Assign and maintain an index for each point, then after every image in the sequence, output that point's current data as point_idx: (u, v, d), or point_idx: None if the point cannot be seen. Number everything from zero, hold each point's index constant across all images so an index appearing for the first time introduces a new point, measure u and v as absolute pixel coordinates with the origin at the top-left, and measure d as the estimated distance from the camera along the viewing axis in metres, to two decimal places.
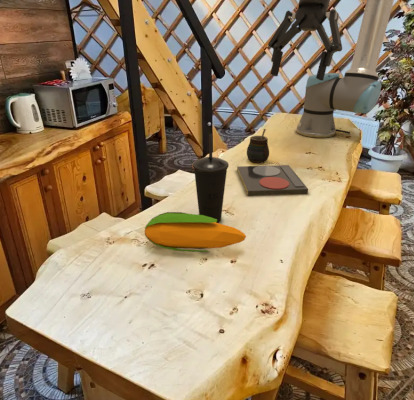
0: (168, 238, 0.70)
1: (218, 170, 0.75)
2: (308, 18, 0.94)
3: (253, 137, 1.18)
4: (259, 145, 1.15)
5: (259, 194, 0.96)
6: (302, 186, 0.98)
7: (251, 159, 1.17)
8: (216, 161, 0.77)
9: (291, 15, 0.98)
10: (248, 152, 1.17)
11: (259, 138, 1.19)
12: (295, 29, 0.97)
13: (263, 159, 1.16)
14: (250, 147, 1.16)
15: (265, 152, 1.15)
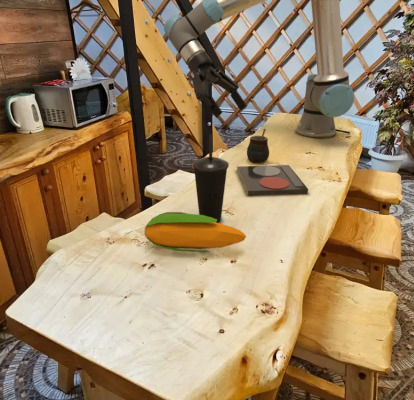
0: (168, 237, 0.70)
1: (218, 170, 0.75)
2: None
3: (253, 137, 1.18)
4: (259, 145, 1.15)
5: (259, 194, 0.96)
6: (302, 186, 0.98)
7: (251, 159, 1.17)
8: (216, 161, 0.77)
9: None
10: (248, 152, 1.17)
11: (259, 138, 1.19)
12: (216, 82, 1.23)
13: (263, 159, 1.16)
14: (250, 147, 1.16)
15: (265, 152, 1.15)
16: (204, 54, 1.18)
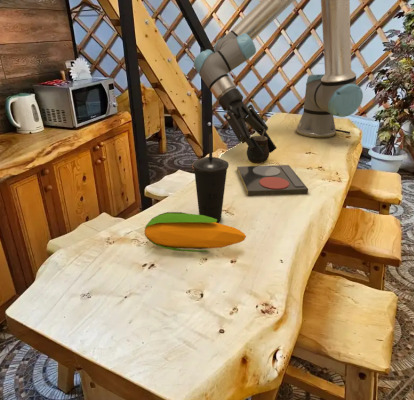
0: (168, 238, 0.70)
1: (218, 170, 0.75)
2: None
3: (253, 137, 1.18)
4: (259, 145, 1.15)
5: (259, 194, 0.96)
6: (302, 186, 0.98)
7: (251, 159, 1.17)
8: (216, 161, 0.77)
9: None
10: (248, 152, 1.17)
11: (259, 138, 1.19)
12: (246, 120, 1.19)
13: (263, 159, 1.16)
14: None
15: (265, 152, 1.15)
16: (236, 90, 1.15)
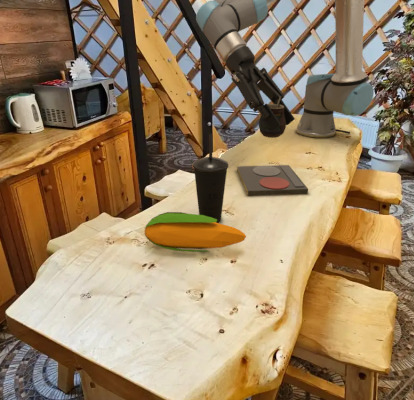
0: (168, 237, 0.70)
1: (218, 170, 0.75)
2: None
3: None
4: None
5: (259, 194, 0.96)
6: (302, 186, 0.98)
7: (264, 132, 0.97)
8: (216, 161, 0.77)
9: None
10: (261, 124, 0.97)
11: (274, 107, 0.99)
12: (258, 85, 1.00)
13: (279, 131, 0.97)
14: None
15: (281, 123, 0.96)
16: (246, 48, 0.96)
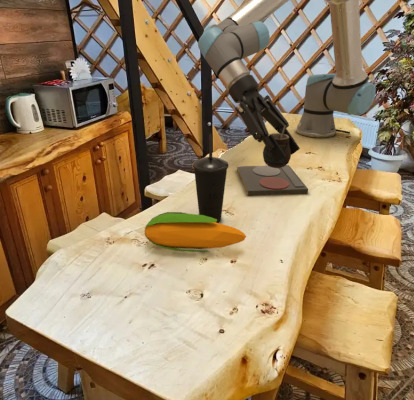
0: (168, 237, 0.70)
1: (218, 170, 0.75)
2: None
3: None
4: (279, 145, 0.92)
5: (259, 194, 0.96)
6: (302, 186, 0.98)
7: (269, 162, 0.95)
8: (216, 161, 0.77)
9: None
10: (265, 154, 0.95)
11: (278, 136, 0.96)
12: (262, 114, 0.97)
13: (284, 162, 0.94)
14: None
15: (286, 154, 0.93)
16: (250, 77, 0.93)
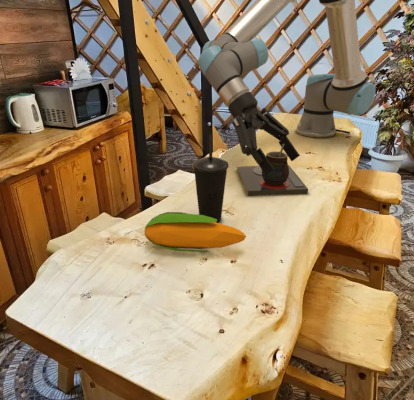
0: (168, 237, 0.70)
1: (218, 170, 0.75)
2: None
3: (270, 153, 0.98)
4: (277, 164, 0.95)
5: (259, 194, 0.96)
6: (302, 186, 0.98)
7: (267, 180, 0.97)
8: (216, 161, 0.77)
9: None
10: None
11: (277, 154, 0.99)
12: (262, 127, 1.00)
13: (282, 180, 0.96)
14: None
15: (285, 172, 0.95)
16: (249, 95, 0.95)
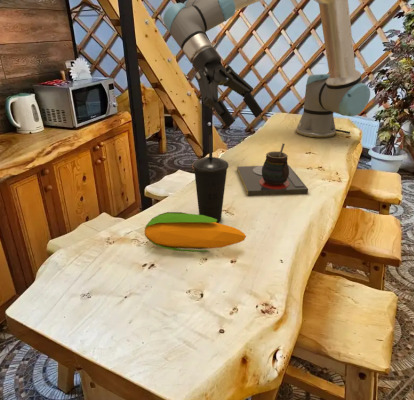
0: (168, 237, 0.70)
1: (218, 170, 0.75)
2: None
3: (270, 153, 0.98)
4: (277, 164, 0.95)
5: (259, 194, 0.96)
6: (302, 186, 0.98)
7: (267, 180, 0.97)
8: (216, 161, 0.77)
9: None
10: (264, 172, 0.97)
11: (277, 154, 0.99)
12: (226, 84, 1.02)
13: (282, 180, 0.96)
14: (266, 166, 0.96)
15: (285, 172, 0.95)
16: (212, 50, 0.98)
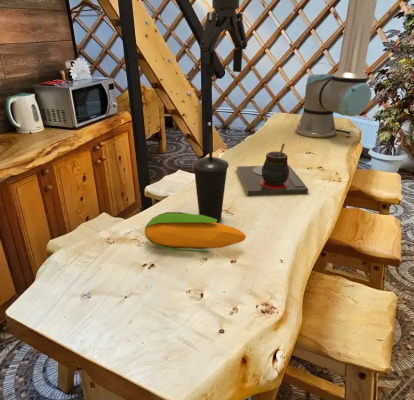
0: (168, 238, 0.70)
1: (218, 170, 0.75)
2: None
3: (270, 153, 0.98)
4: (277, 164, 0.95)
5: (259, 194, 0.96)
6: (302, 186, 0.98)
7: (267, 180, 0.97)
8: (216, 161, 0.77)
9: None
10: (264, 172, 0.97)
11: (277, 154, 0.99)
12: (229, 30, 1.08)
13: (282, 180, 0.96)
14: (266, 166, 0.96)
15: (285, 172, 0.95)
16: None
